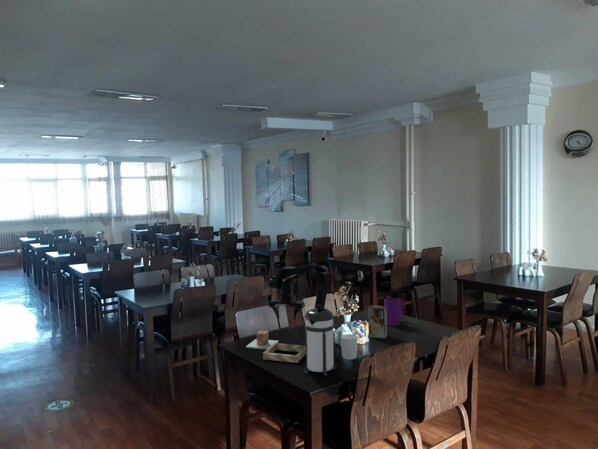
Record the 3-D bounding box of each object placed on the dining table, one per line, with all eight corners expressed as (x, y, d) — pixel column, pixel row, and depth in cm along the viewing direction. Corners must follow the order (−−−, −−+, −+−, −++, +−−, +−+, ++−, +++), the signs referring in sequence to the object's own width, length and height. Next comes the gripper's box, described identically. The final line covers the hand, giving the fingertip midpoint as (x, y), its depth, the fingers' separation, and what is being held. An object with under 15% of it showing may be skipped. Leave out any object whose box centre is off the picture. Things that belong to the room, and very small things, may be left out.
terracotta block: (268, 342, 247) (268, 331, 246) (265, 345, 242) (264, 334, 241) (260, 341, 248) (260, 330, 247) (256, 344, 243) (256, 333, 243)
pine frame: (307, 351, 233) (307, 346, 233) (297, 362, 218) (297, 356, 218) (274, 348, 238) (274, 342, 238) (262, 359, 224) (262, 353, 224)
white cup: (353, 361, 219) (353, 340, 219) (338, 358, 223) (337, 337, 223) (360, 356, 226) (360, 335, 225) (345, 353, 230) (345, 333, 229)
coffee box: (387, 335, 258) (387, 306, 256) (385, 338, 252) (384, 309, 250) (370, 333, 261) (370, 305, 260) (368, 337, 255) (367, 307, 254)
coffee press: (343, 375, 203) (342, 306, 201) (307, 379, 199) (306, 309, 197) (332, 361, 220) (331, 297, 217) (298, 364, 216) (297, 300, 214)
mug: (381, 324, 278) (381, 299, 277) (396, 319, 289) (396, 295, 288) (394, 327, 271) (394, 302, 270) (409, 322, 282) (409, 297, 281)
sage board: (278, 341, 249) (278, 340, 249) (269, 349, 237) (269, 348, 237) (256, 339, 253) (256, 338, 253) (246, 347, 241) (246, 346, 241)
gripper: (307, 288, 254) (308, 317, 255) (275, 287, 260) (275, 315, 261) (301, 293, 244) (301, 322, 245) (267, 291, 249) (268, 320, 251)
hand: (286, 320), depth 251 cm, fingers open, 9 cm apart
